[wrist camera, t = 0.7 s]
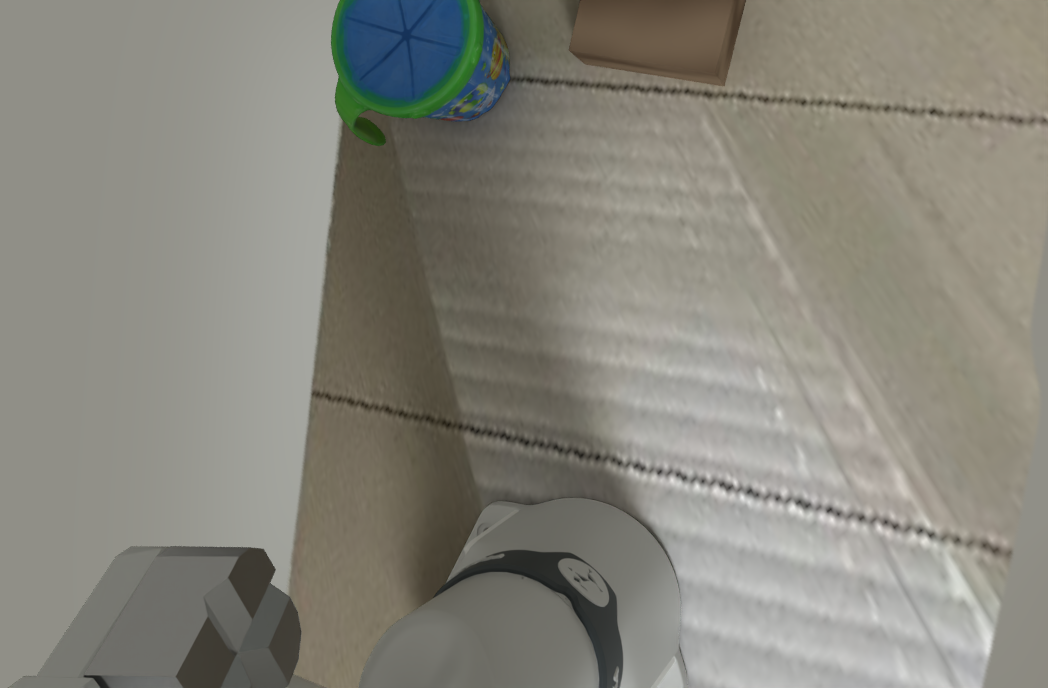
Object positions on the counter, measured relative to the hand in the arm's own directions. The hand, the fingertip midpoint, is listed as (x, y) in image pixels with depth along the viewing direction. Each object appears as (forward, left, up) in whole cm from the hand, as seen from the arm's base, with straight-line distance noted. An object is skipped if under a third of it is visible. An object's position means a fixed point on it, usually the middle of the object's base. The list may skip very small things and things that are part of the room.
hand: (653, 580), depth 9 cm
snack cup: (-1, +34, -54) cm, 64 cm away
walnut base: (+11, +24, -54) cm, 60 cm away
